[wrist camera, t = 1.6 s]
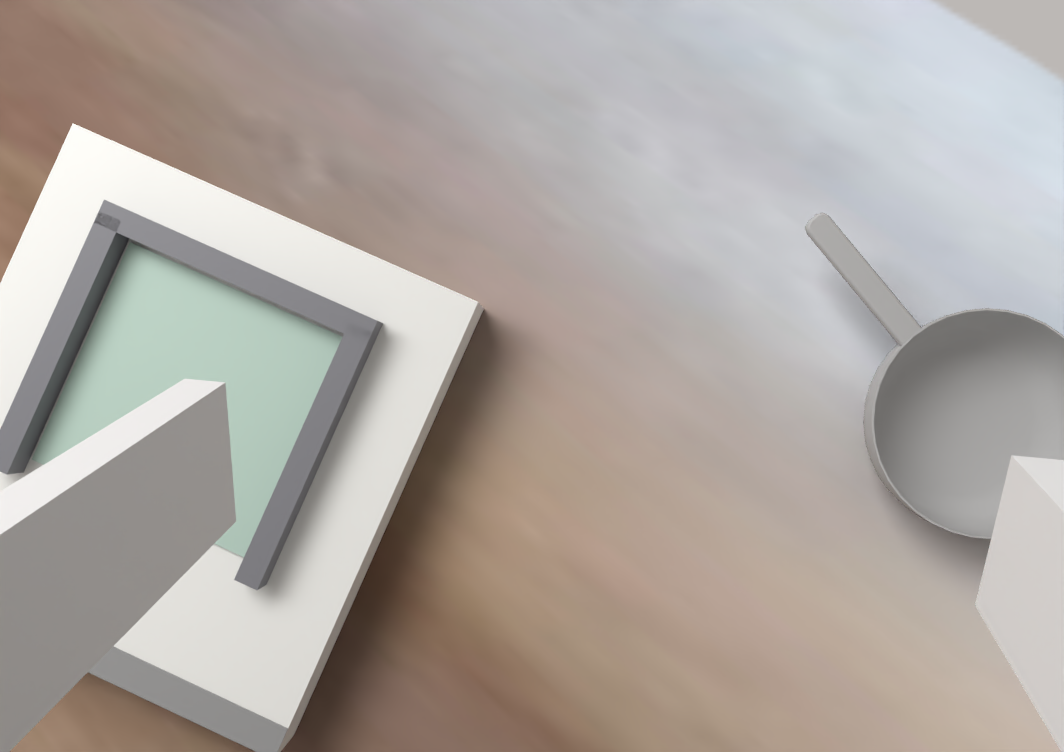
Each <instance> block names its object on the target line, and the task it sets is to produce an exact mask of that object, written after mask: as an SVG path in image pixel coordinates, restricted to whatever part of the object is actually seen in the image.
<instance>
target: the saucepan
mask: <svg viewBox="0 0 1064 752" xmlns="http://www.w3.org/2000/svg"><path fill="white" fill-rule="evenodd" d="M805 229H806V233H807V235H808V236H809V237H810V238H811V239H812V241H813V242H814V243H815V244H816V245H817V247H818V248H819V249H820V250H821V252H822V253H823V254H824V255H825V256H826V258H827V259H828V260H829V261H830V262H831V264H832V265H833V266H834V267H835V268H836V270H837V271H838V272H839V273H840V274H841V276H842V277H843V278H844V279H845V280H846V282H847V283H848V284H849V285H850V286H851V288H852V289H853V290H854V291H855V293H856V294H857V295H858V296H859V297H860V299H861V300H862V301H863V302H864V303H865V305H866V306H867V307H868V308H869V309H870V311H871V312H872V313H873V314H874V315H875V317H876V318H877V319H878V320H879V321H880V323H881V324H882V325H883V326H884V327H885V329H886V330H887V331H888V332H889V333H890V335H891V336H892V337H893V338H894V340H895V341H896V342H897V343H898V344H897V345H896V346H895V347H894V348H893V349H892V350H891V351H890V352H889V353H888V354H887V356H886V357H885V359H884V360H883V361H882V363H881V364H880V366H879V367H878V369H877V371H876V373H875V375H874V377H873V379H872V381H871V384H870V386H869V390H868V393H867V397H866V401H865V408H864V420H863V424H864V434H865V442H866V445H867V449H868V453H869V456H870V459H871V461H872V463H873V466H874V468H875V470H876V472H877V474H878V476H879V477H880V479H881V480H882V481H883V483H884V484H885V486H886V487H887V488H888V490H889V491H890V492H891V493H892V494H893V495H894V496H895V497H896V498H897V499H898V500H899V501H900V502H901V503H902V504H903V505H904V506H906V507H907V508H908V509H910V510H911V511H913V512H914V513H915V514H917V515H918V516H920V517H921V518H923V519H924V520H926V521H928V522H930V523H932V524H934V525H936V526H938V527H941V528H943V529H945V530H947V531H949V532H953V533H956V534H960V535H964V536H968V537H974V538H985V539H991V537H992V533H993V529H994V525H995V521H996V517H997V513H998V508H999V504H1000V500H1001V496H1002V492H1003V488H1004V484H1005V480H1006V475H1007V471H1008V467H1009V463H1010V459H1011V455H1014V456H1025V457H1035V458H1046V459H1057V460H1064V336H1063V335H1062V334H1060V333H1059V332H1058V331H1056V330H1055V329H1053V328H1052V327H1050V326H1049V325H1047V324H1046V323H1043V322H1041V321H1039V320H1037V319H1034V318H1032V317H1030V316H1028V315H1025V314H1021V313H1017V312H1013V311H1009V310H1001V309H989V308H985V309H974V310H965V311H961V312H958V313H954V314H950V315H946V316H944V317H942V318H939V319H937V320H935V321H932V322H930V323H928V324H926V325H924V326H922V327H921V326H920V325H919V324H918V323H917V322H916V320H915V319H914V318H913V317H912V316H911V314H910V313H909V312H908V311H907V310H906V308H905V307H904V306H903V305H902V304H901V302H900V301H899V300H898V299H897V297H896V296H895V295H894V294H893V293H892V291H891V290H890V289H889V288H888V287H887V285H886V284H885V283H884V282H883V281H882V279H881V278H880V277H879V276H878V275H877V273H876V272H875V271H874V270H873V269H872V267H871V266H870V265H869V264H868V262H867V261H866V260H865V259H864V258H863V256H862V255H861V254H860V253H859V252H858V250H857V249H856V248H855V247H854V246H853V244H852V243H851V242H850V241H849V240H848V238H847V237H846V236H845V235H844V234H843V232H842V231H841V230H840V229H839V227H838V226H837V225H836V224H835V223H834V221H833V220H832V219H831V218H830V217H829V216H828V215H826V214H825V213H819V214H816V215H815V216H814V217H812V218H811V219H810V220H809V221H808V222H807V224H806V226H805Z"/></svg>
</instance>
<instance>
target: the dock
mask: <svg viewBox="0 0 1064 752" xmlns="http://www.w3.org/2000/svg"><path fill="white" fill-rule="evenodd" d="M483 310H484V308H483V307H482V306H481V305H480V303H479V302H477V301H475V300H473V299H470V298H468V297H466V296H464V295H461V294H459V293H457V292H454V291H452V290H450V289H448V288H445V287H443V286H441V285H439V284H436V283H434V282H432V281H429V280H427V279H425V278H423V277H420V276H418V275H416V274H414V273H411V272H409V271H407V270H404V269H402V268H400V267H398V266H395V265H393V264H391V263H389V262H386V261H384V260H382V259H380V258H377V257H375V256H373V255H370V254H368V253H366V252H364V251H361V250H359V249H357V248H355V247H352V246H350V245H348V244H345V243H343V242H341V241H339V240H336V239H334V238H332V237H330V236H327V235H325V234H323V233H320V232H318V231H316V230H314V229H311V228H309V227H307V226H305V225H302V224H300V223H298V222H295V221H293V220H291V219H289V218H286V217H284V216H282V215H280V214H277V213H275V212H273V211H271V210H268V209H266V208H264V207H261V206H259V205H257V204H255V203H252V202H250V201H248V200H246V199H243V198H241V197H239V196H236V195H234V194H232V193H230V192H227V191H225V190H223V189H221V188H218V187H216V186H214V185H211V184H209V183H207V182H205V181H202V180H200V179H198V178H196V177H193V176H191V175H189V174H186V173H184V172H182V171H180V170H177V169H175V168H173V167H171V166H168V165H166V164H164V163H161V162H159V161H157V160H155V159H152V158H150V157H148V156H146V155H143V154H141V153H139V152H137V151H134V150H132V149H130V148H127V147H125V146H123V145H121V144H118V143H116V142H114V141H112V140H109V139H107V138H105V137H102V136H100V135H98V134H96V133H93V132H91V131H89V130H87V129H84V128H82V127H80V126H77V125H75V124H72V126H71V129H70V131H69V133H68V135H67V137H66V140H65V142H64V144H63V146H62V149H61V151H60V153H59V155H58V157H57V160H56V162H55V164H54V166H53V168H52V171H51V173H50V175H49V177H48V179H47V182H46V184H45V186H44V188H43V190H42V193H41V195H40V197H39V199H38V201H37V204H36V206H35V208H34V210H33V213H32V215H31V217H30V219H29V221H28V224H27V226H26V228H25V230H24V232H23V235H22V237H21V239H20V241H19V243H18V246H17V248H16V250H15V252H14V254H13V257H12V259H11V261H10V263H9V266H8V268H7V270H6V272H5V274H4V277H3V279H2V281H1V283H0V491H2V490H3V489H5V488H7V487H8V486H10V485H12V484H13V483H15V482H16V481H18V480H20V479H21V478H23V477H25V476H26V475H28V474H30V473H31V472H33V471H34V470H36V469H38V468H39V467H41V466H43V465H44V464H46V463H48V462H49V461H51V460H52V459H54V458H56V457H57V456H59V455H61V454H62V453H64V452H66V451H67V450H69V449H70V448H72V447H74V446H75V445H77V444H79V443H80V442H82V441H84V440H85V439H87V438H88V437H90V436H92V435H93V434H95V433H97V432H98V431H100V430H102V429H103V428H105V427H106V426H108V425H110V424H111V423H113V422H115V421H116V420H118V419H120V418H121V417H123V416H124V415H126V414H128V413H129V412H131V411H133V410H134V409H136V408H138V407H139V406H141V405H142V404H144V403H146V402H147V401H149V400H151V399H152V398H154V397H156V396H157V395H159V394H160V393H162V392H164V391H165V390H167V389H169V388H170V387H172V386H173V385H175V384H177V383H178V382H180V381H182V380H183V379H194V380H205V381H216V382H225V383H226V396H227V409H228V421H229V434H230V447H231V460H232V473H233V485H234V498H235V511H236V522H235V523H234V524H233V525H232V526H231V527H230V528H229V529H228V530H227V531H226V532H225V533H224V534H223V535H222V536H221V537H220V538H219V539H218V540H217V541H216V542H215V543H214V544H213V545H212V547H211V548H210V549H209V550H208V551H207V552H206V553H205V554H204V555H203V556H202V557H201V558H200V559H199V560H198V561H197V562H196V563H195V564H194V565H193V566H192V567H191V568H190V569H189V570H188V571H187V572H186V573H185V574H184V575H183V576H182V577H181V578H180V579H179V580H178V581H177V582H176V583H175V584H174V585H173V586H172V587H171V588H170V589H169V590H168V591H167V592H166V593H165V594H164V595H163V596H162V597H161V598H160V599H159V600H158V601H157V602H156V603H155V604H154V605H153V606H152V607H151V608H150V609H149V610H148V611H147V613H146V614H145V615H144V616H143V617H142V618H141V619H140V620H139V621H138V622H137V623H136V624H135V625H134V626H133V627H132V628H131V629H130V630H129V631H128V632H127V633H126V634H125V635H124V636H123V637H122V638H121V639H120V640H119V641H118V642H117V643H116V644H115V645H114V646H113V647H112V648H111V649H110V650H109V651H108V652H107V653H106V654H105V655H104V656H103V657H102V658H101V659H100V660H99V661H98V662H97V663H96V664H95V665H94V666H93V667H92V668H91V669H90V670H89V671H88V672H89V673H91V674H93V675H95V676H97V677H99V678H101V679H103V680H105V681H108V682H110V683H112V684H114V685H116V686H118V687H120V688H122V689H125V690H127V691H129V692H131V693H133V694H135V695H137V696H139V697H141V698H144V699H146V700H148V701H150V702H152V703H154V704H156V705H158V706H161V707H163V708H165V709H167V710H169V711H171V712H173V713H175V714H177V715H180V716H182V717H184V718H186V719H188V720H190V721H192V722H194V723H197V724H199V725H201V726H203V727H205V728H207V729H209V730H211V731H213V732H216V733H218V734H220V735H222V736H224V737H226V738H228V739H230V740H233V741H235V742H237V743H239V744H241V745H243V746H245V747H247V748H249V749H252V750H254V751H256V752H281V751H282V749H283V748H284V747H285V746H286V744H287V743H288V742H289V741H290V740H291V738H292V737H293V736H294V734H295V732H296V730H297V727H298V725H299V723H300V721H301V718H302V716H303V714H304V712H305V709H306V707H307V705H308V703H309V700H310V698H311V696H312V694H313V691H314V689H315V687H316V685H317V682H318V680H319V678H320V676H321V673H322V671H323V669H324V667H325V664H326V662H327V660H328V658H329V656H330V653H331V651H332V649H333V647H334V644H335V642H336V640H337V638H338V635H339V633H340V631H341V629H342V626H343V624H344V622H345V620H346V617H347V615H348V613H349V611H350V608H351V606H352V604H353V602H354V599H355V597H356V595H357V593H358V590H359V588H360V586H361V584H362V581H363V579H364V577H365V575H366V572H367V570H368V568H369V566H370V563H371V561H372V559H373V557H374V554H375V552H376V550H377V548H378V545H379V543H380V541H381V539H382V536H383V534H384V532H385V530H386V527H387V525H388V523H389V521H390V518H391V516H392V514H393V512H394V509H395V507H396V505H397V503H398V501H399V498H400V496H401V494H402V492H403V489H404V487H405V485H406V483H407V480H408V478H409V476H410V474H411V471H412V469H413V467H414V465H415V462H416V460H417V458H418V456H419V453H420V451H421V449H422V447H423V444H424V442H425V440H426V438H427V435H428V433H429V431H430V429H431V426H432V424H433V422H434V420H435V417H436V415H437V413H438V411H439V408H440V406H441V404H442V402H443V399H444V397H445V395H446V393H447V390H448V388H449V386H450V384H451V381H452V379H453V377H454V375H455V372H456V370H457V368H458V366H459V363H460V361H461V359H462V357H463V354H464V352H465V350H466V348H467V345H468V343H469V341H470V339H471V337H472V334H473V332H474V330H475V328H476V325H477V323H478V321H479V319H480V316H481V314H482V312H483Z"/></svg>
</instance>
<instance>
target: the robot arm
mask: <svg viewBox="0 0 1064 752" xmlns="http://www.w3.org/2000/svg"><path fill="white" fill-rule="evenodd" d="M235 522H236V511H235V498H234V485H233V473H232V460H231V447H230V434H229V421H228V409H227V396H226V383H225V382H216V381H205V380H194V379H183V380H182V381H180V382H178V383H177V384H175V385H173V386H172V387H170V388H169V389H167V390H165V391H164V392H162V393H160V394H159V395H157V396H156V397H154V398H152V399H151V400H149V401H147V402H146V403H144V404H142V405H141V406H139V407H138V408H136V409H134V410H133V411H131V412H129V413H128V414H126V415H124V416H123V417H121V418H120V419H118V420H116V421H115V422H113V423H111V424H110V425H108V426H106V427H105V428H103V429H102V430H100V431H98V432H97V433H95V434H93V435H92V436H90V437H88V438H87V439H85V440H84V441H82V442H80V443H79V444H77V445H75V446H74V447H72V448H70V449H69V450H67V451H66V452H64V453H62V454H61V455H59V456H57V457H56V458H54V459H52V460H51V461H49V462H48V463H46V464H44V465H43V466H41V467H39V468H38V469H36V470H34V471H33V472H31V473H30V474H28V475H26V476H25V477H23V478H21V479H20V480H18V481H16V482H15V483H13V484H12V485H10V486H8V487H7V488H5V489H3V490H2V491H0V752H10V751H11V750H12V749H13V748H14V747H15V746H16V745H17V744H18V742H19V741H20V740H21V739H22V738H23V737H24V736H25V735H26V734H27V733H28V732H29V731H30V730H31V729H32V728H33V727H34V726H35V725H36V724H37V723H38V722H39V721H40V720H41V719H42V718H43V717H44V716H45V715H46V714H47V713H48V712H49V711H50V710H51V709H52V708H53V707H54V706H55V705H56V704H57V703H58V702H59V701H60V700H61V699H62V698H63V697H64V696H65V695H66V694H67V693H68V692H69V691H70V690H71V689H72V688H73V687H74V686H75V685H76V684H77V683H78V682H79V681H80V680H81V679H82V678H83V676H84V675H85V674H86V673H87V672H88V671H89V670H90V669H91V668H92V667H93V666H94V665H95V664H96V663H97V662H98V661H99V660H100V659H101V658H102V657H103V656H104V655H105V654H106V653H107V652H108V651H109V650H110V649H111V648H112V647H113V646H114V645H115V644H116V643H117V642H118V641H119V640H120V639H121V638H122V637H123V636H124V635H125V634H126V633H127V632H128V631H129V630H130V629H131V628H132V627H133V626H134V625H135V624H136V623H137V622H138V621H139V620H140V619H141V618H142V617H143V616H144V615H145V614H146V613H147V611H148V610H149V609H150V608H151V607H152V606H153V605H154V604H155V603H156V602H157V601H158V600H159V599H160V598H161V597H162V596H163V595H164V594H165V593H166V592H167V591H168V590H169V589H170V588H171V587H172V586H173V585H174V584H175V583H176V582H177V581H178V580H179V579H180V578H181V577H182V576H183V575H184V574H185V573H186V572H187V571H188V570H189V569H190V568H191V567H192V566H193V565H194V564H195V563H196V562H197V561H198V560H199V559H200V558H201V557H202V556H203V555H204V554H205V553H206V552H207V551H208V550H209V549H210V548H211V547H212V545H213V544H214V543H215V542H216V541H217V540H218V539H219V538H220V537H221V536H222V535H223V534H224V533H225V532H226V531H227V530H228V529H229V528H230V527H231V526H232V525H233V524H234V523H235ZM975 606H976V608H977V610H978V611H979V613H980V615H981V616H982V618H983V620H984V622H985V623H986V625H987V627H988V628H989V630H990V632H991V633H992V635H993V637H994V638H995V640H996V642H997V644H998V645H999V647H1000V649H1001V650H1002V652H1003V654H1004V655H1005V657H1006V659H1007V661H1008V662H1009V664H1010V666H1011V667H1012V669H1013V671H1014V672H1015V674H1016V676H1017V677H1018V679H1019V681H1020V683H1021V684H1022V686H1023V688H1024V689H1025V691H1026V693H1027V694H1028V696H1029V698H1030V700H1031V701H1032V703H1033V705H1034V706H1035V708H1036V710H1037V711H1038V713H1039V715H1040V717H1041V718H1042V720H1043V722H1044V723H1045V725H1046V727H1047V728H1048V730H1049V732H1050V733H1051V735H1052V737H1053V739H1054V740H1055V742H1056V744H1057V745H1058V747H1059V749H1060V750H1061V752H1064V460H1057V459H1046V458H1035V457H1025V456H1014V455H1011V459H1010V463H1009V467H1008V471H1007V475H1006V480H1005V484H1004V488H1003V492H1002V496H1001V500H1000V504H999V508H998V513H997V517H996V521H995V525H994V529H993V533H992V537H991V541H990V546H989V550H988V554H987V558H986V562H985V566H984V570H983V574H982V579H981V583H980V587H979V591H978V595H977V599H976V603H975Z"/></svg>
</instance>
